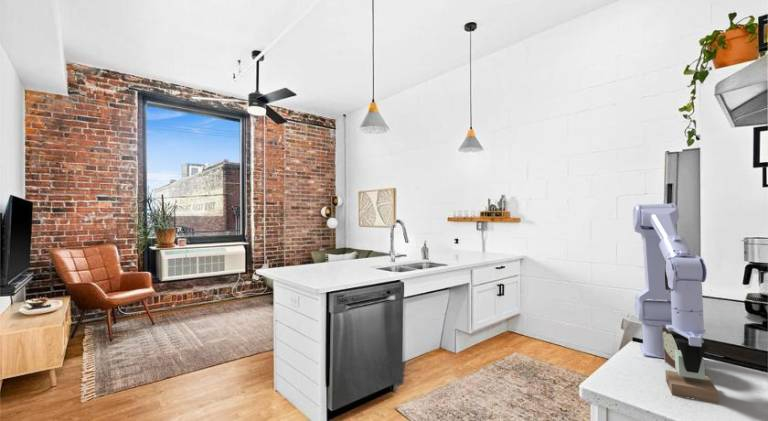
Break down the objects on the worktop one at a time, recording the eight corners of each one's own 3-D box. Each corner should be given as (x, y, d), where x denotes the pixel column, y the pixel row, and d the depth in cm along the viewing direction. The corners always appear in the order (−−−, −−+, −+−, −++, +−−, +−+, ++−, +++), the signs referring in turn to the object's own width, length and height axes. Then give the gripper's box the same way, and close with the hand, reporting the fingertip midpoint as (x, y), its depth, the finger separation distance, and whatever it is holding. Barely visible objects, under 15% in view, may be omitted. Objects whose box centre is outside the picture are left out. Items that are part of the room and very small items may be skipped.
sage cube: (675, 368, 87) (674, 349, 87) (699, 371, 85) (698, 352, 85) (679, 375, 83) (678, 356, 84) (704, 379, 81) (703, 359, 81)
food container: (718, 381, 89) (716, 340, 89) (689, 379, 90) (687, 339, 90) (687, 361, 101) (685, 325, 101) (661, 360, 102) (660, 324, 102)
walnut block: (666, 382, 90) (665, 370, 90) (708, 389, 86) (707, 376, 86) (672, 396, 83) (671, 383, 83) (718, 405, 79) (718, 391, 79)
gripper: (660, 300, 93) (662, 354, 93) (670, 314, 80) (673, 376, 80) (696, 303, 89) (698, 358, 89) (713, 318, 77) (716, 383, 77)
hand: (689, 367), depth 84 cm, fingers closed on sage cube, 4 cm apart
